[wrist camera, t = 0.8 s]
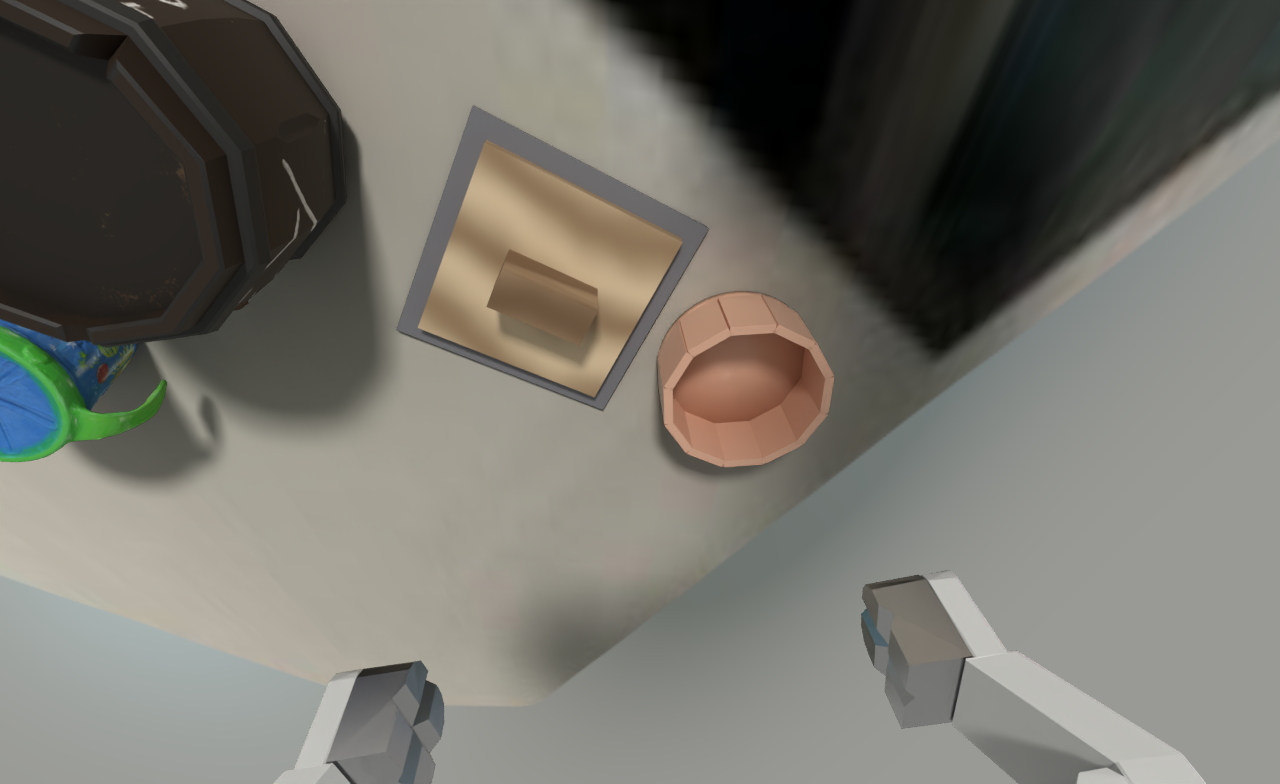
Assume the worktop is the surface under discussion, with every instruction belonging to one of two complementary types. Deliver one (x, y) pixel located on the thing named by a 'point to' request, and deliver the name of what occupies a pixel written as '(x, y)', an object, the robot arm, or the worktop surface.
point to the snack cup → (59, 393)
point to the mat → (581, 175)
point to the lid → (545, 272)
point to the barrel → (155, 164)
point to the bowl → (742, 380)
